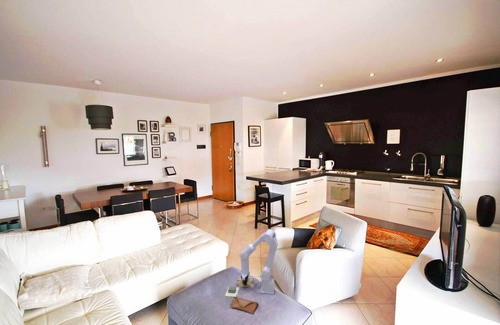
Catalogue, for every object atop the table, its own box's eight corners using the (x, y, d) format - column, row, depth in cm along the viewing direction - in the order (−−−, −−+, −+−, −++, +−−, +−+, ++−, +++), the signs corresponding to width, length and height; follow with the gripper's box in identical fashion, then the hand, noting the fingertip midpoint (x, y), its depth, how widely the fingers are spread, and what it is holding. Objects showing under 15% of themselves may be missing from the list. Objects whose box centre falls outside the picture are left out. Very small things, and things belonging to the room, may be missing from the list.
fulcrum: (239, 288, 166) (239, 284, 166) (236, 297, 156) (235, 293, 156) (228, 287, 168) (228, 283, 167) (224, 296, 158) (224, 292, 158)
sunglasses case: (228, 308, 146) (230, 296, 149) (232, 307, 152) (234, 295, 155) (254, 315, 140) (256, 302, 143) (257, 313, 146) (259, 302, 148)
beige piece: (253, 284, 170) (253, 278, 170) (253, 287, 167) (253, 280, 167) (237, 283, 172) (237, 277, 171) (237, 286, 169) (237, 279, 168)
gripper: (241, 260, 176) (242, 277, 177) (237, 271, 162) (238, 289, 163) (250, 261, 175) (251, 278, 176) (247, 272, 161) (247, 290, 162)
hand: (245, 283), depth 169 cm, fingers closed on beige piece, 3 cm apart
